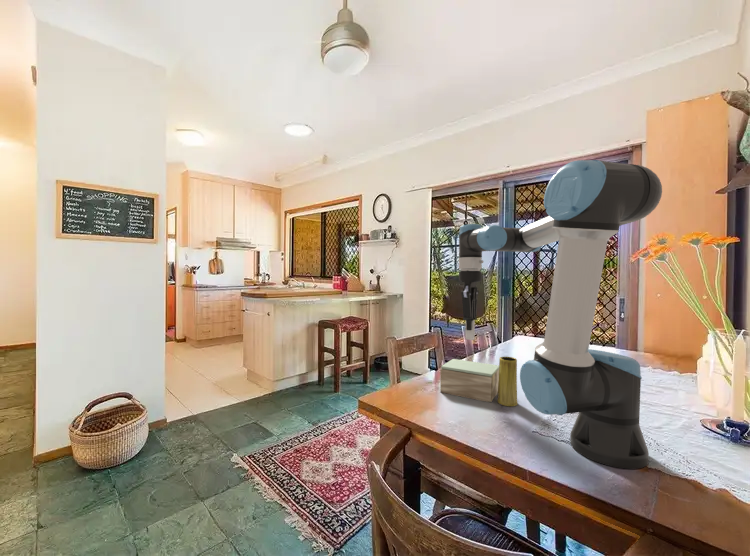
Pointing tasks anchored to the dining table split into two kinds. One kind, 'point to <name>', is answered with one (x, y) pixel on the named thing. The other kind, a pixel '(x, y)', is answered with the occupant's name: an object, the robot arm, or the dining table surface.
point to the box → (469, 385)
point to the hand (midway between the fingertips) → (469, 339)
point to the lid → (471, 367)
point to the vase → (507, 381)
